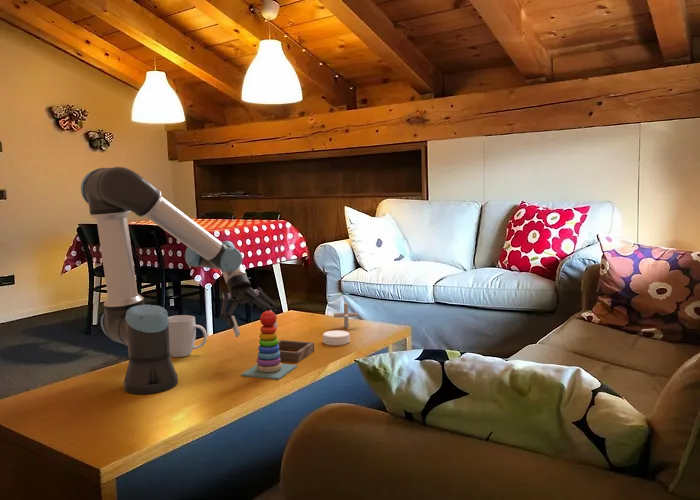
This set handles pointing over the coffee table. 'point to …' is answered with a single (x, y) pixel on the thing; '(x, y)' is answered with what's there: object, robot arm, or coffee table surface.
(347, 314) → the pipe connector
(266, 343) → the stacking toy
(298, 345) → the tray
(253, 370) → the mat
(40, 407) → the coffee table surface
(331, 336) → the white coaster stack
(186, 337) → the mug
